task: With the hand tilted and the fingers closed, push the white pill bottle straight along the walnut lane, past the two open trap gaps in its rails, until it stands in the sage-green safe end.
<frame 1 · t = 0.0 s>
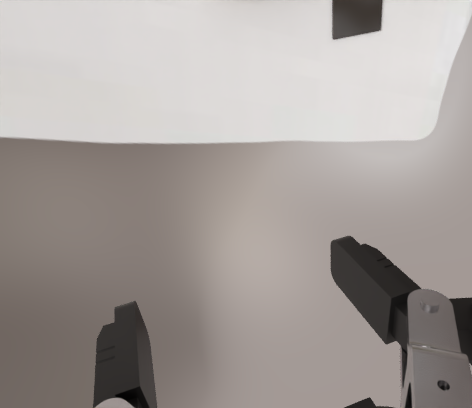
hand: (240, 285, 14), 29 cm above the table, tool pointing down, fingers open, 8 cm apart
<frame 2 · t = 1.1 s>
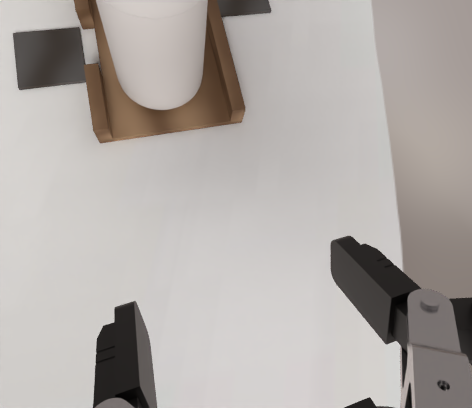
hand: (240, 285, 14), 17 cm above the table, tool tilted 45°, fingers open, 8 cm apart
pill bottle: (161, 78, 35), point 1 cm above the table, touching lane
lane: (149, 15, 37), on the table
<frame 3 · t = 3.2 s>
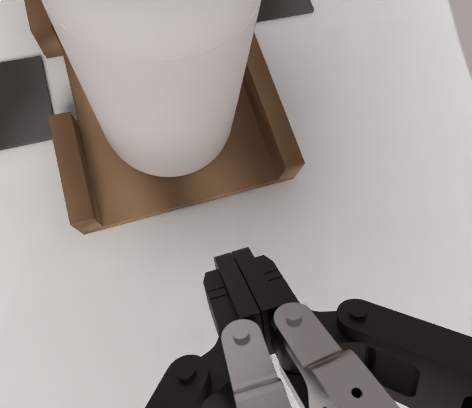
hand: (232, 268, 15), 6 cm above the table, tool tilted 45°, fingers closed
pill bottle: (170, 124, 23), touching lane
lane: (142, 29, 25), on the table
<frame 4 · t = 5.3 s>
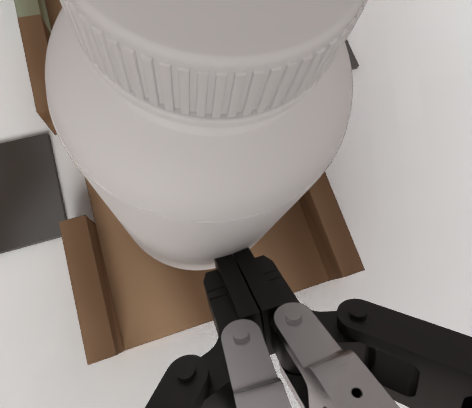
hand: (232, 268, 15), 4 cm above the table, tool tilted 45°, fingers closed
pill bottle: (198, 201, 20), touching gripper
lane: (164, 95, 22), on the table
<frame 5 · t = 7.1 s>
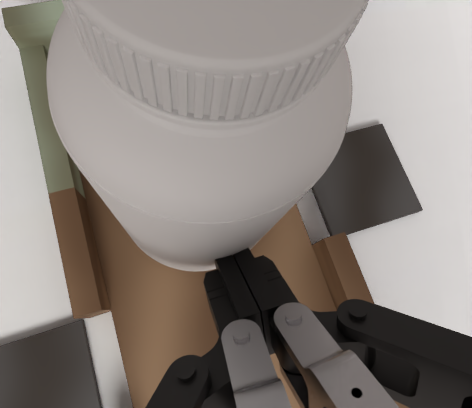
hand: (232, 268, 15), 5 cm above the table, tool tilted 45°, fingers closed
pill bottle: (198, 202, 20), touching gripper, lane
lane: (211, 259, 20), on the table
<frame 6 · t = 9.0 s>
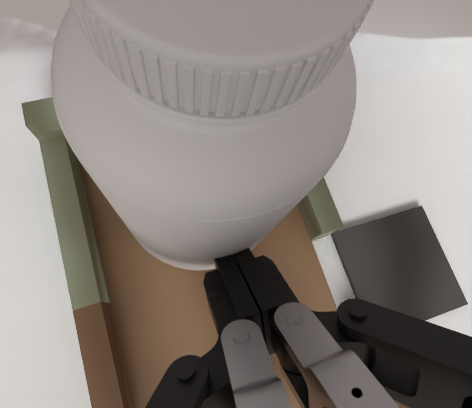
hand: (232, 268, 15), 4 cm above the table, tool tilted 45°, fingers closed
pill bottle: (200, 201, 20), touching gripper, lane
lane: (244, 366, 18), on the table
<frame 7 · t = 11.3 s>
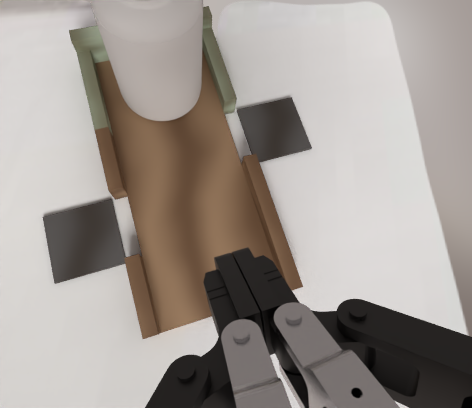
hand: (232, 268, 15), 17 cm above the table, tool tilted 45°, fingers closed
pill bottle: (162, 90, 36), touching lane
lane: (183, 171, 34), on the table
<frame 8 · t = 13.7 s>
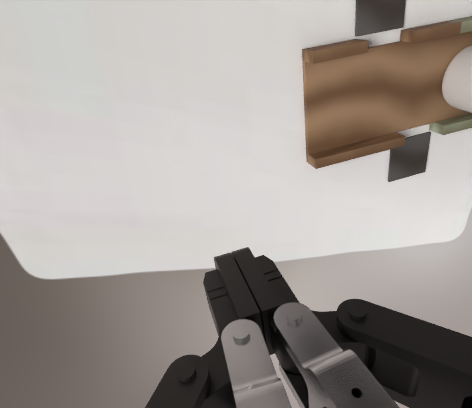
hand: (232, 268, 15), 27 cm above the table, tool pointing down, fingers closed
pill bottle: (464, 76, 46), touching lane
lane: (402, 87, 45), on the table
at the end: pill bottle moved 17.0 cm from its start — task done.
